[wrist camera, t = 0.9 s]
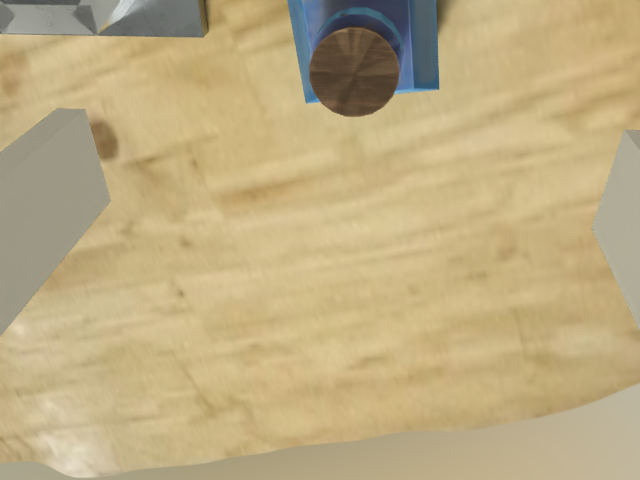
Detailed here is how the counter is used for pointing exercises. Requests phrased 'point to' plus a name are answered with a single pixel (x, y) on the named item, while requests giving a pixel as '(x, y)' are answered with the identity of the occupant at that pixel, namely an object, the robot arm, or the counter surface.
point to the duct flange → (104, 17)
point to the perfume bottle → (364, 51)
